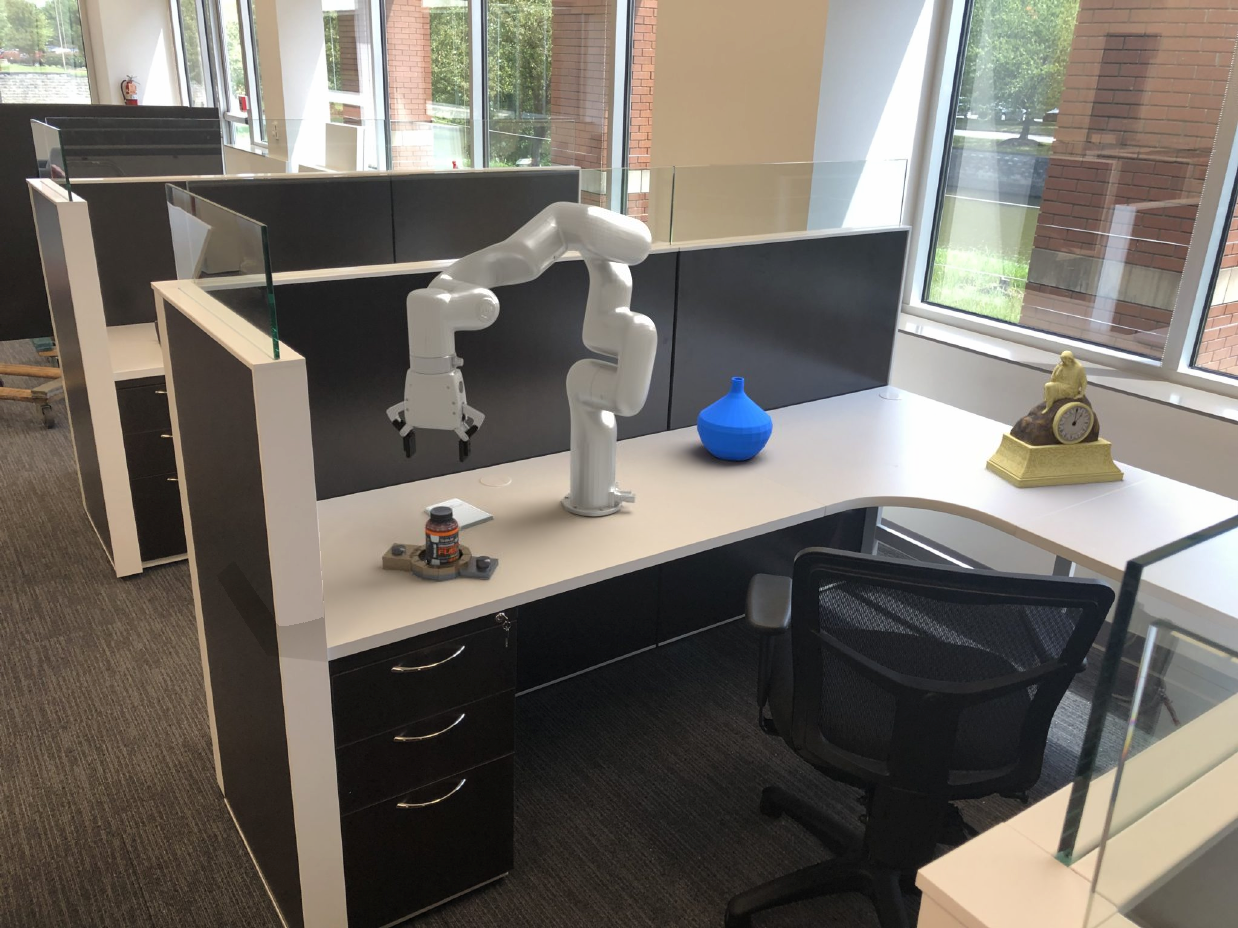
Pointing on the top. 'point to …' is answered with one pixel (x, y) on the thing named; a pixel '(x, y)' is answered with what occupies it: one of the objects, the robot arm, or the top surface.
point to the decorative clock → (1057, 437)
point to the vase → (734, 425)
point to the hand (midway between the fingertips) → (437, 457)
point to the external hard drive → (464, 513)
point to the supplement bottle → (442, 537)
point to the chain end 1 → (409, 557)
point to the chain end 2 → (476, 569)
